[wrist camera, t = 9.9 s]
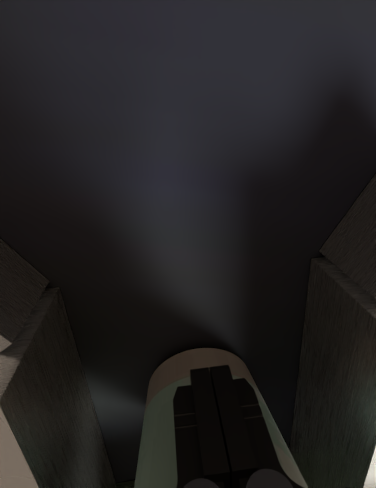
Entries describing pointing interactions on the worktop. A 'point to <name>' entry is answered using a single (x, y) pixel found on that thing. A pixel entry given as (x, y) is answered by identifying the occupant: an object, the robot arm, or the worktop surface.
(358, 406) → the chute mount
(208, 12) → the worktop surface
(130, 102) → the worktop surface
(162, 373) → the coffee cup
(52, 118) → the worktop surface
